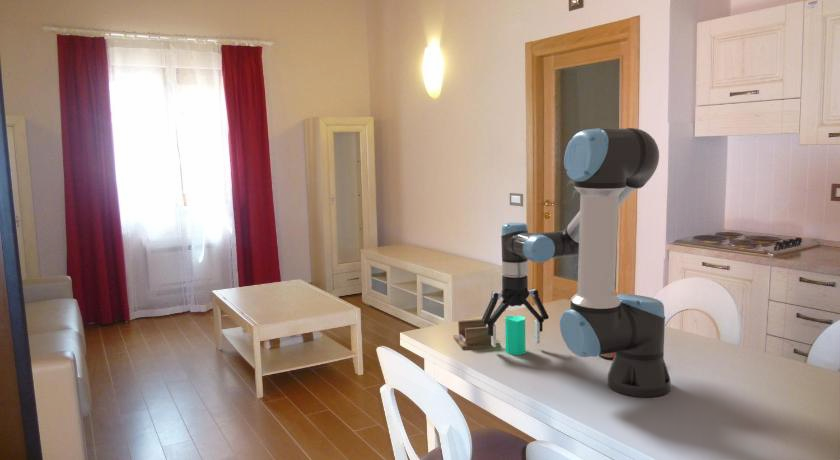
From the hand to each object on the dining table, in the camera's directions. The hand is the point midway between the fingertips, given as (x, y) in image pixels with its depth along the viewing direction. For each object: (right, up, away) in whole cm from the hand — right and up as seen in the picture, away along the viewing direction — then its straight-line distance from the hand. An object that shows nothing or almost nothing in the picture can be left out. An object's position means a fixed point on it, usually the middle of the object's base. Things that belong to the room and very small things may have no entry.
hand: (515, 344), depth 187 cm
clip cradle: (-11, -1, +10) cm, 15 cm away
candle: (0, -3, 0) cm, 2 cm away
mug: (+28, -2, -5) cm, 29 cm away
